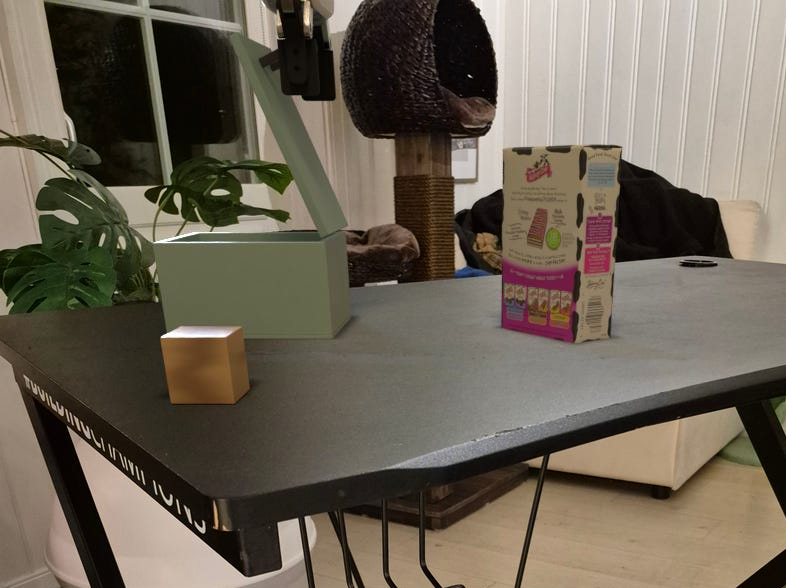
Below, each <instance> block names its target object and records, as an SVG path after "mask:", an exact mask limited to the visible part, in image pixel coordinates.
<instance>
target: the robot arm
mask: <svg viewBox="0 0 786 588" xmlns="http://www.w3.org/2000/svg"><path fill="white" fill-rule="evenodd" d="M261 3H262V4H263V6H264V7H265V8H266V9H267V10H269V11H270V12H272V13H273V14H274V15H276V18H275V19H276V21H275V22H276V23H275V24H276V25H275V26H276V35H277V38H276V46H277V49H278V58H279V69H280V80H281V90H282V93H283V94H284V95H288V96H292V97H293V96H298V97H299V96H300V97H301V99H302V100H303V101H304V102H334V101H335V100H336V99H337V89H336V75H335V59H334V50H333V44H332V43H333V42H332V37H331V30H330V22H329V19H330V18H331V17H332V16H333V15H334V13H335V0H261ZM307 38H311V39H307ZM317 46H318V53H317Z"/></svg>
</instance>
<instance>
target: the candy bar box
mask: <svg viewBox="0 0 786 588" xmlns="http://www.w3.org/2000/svg"><path fill="white" fill-rule="evenodd" d="M622 157H623V146H622V145H617V144H601V143H600V144H599V143H598V144H566V145H565V144H563V145H541V146H516V147H515V146H512V147H503V148H502V198H501V199H502V200H501V201H502V205H501V206H502V207H501V208H502V209H501V214H502V217H501V297H500V298H501V301H500V302H501V303H500V305H501V309H500V312H501V313H500V315H501V318H500V319H501V320H500V328H501V329H505V330H509V331H513V332H514V331H515V332H519V333H523V334H528V335H533V336H538V337H543V338H548V339H553V340H558V341H561V342H567V343H572V344H579V343H580V344H581V343H586V342H593V341H599V340H605V339H606V340H607V339H611V335H612V321H613V320H612V319H613V318H612V317H613V303H614V302H613V301H614V286H615V285H614V283H615V269H616V268H615V267H616V253H617V237H618V221H619V205H620V192H621V191H620V190H621V173H622V161H623V159H622Z"/></svg>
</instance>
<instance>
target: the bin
mask: <svg viewBox="0 0 786 588" xmlns="http://www.w3.org/2000/svg"><path fill="white" fill-rule="evenodd" d="M152 249H153V255H154V261H155V267H156V274H157V279H158V280H157V281H158V286H159V292H160V298H161V305H162V310H163V318H164V323H165V329H166V334H167V333H169V332H171V331H173V330H175V329H177V328H178V327H180V326H242V329H243V337H244V339H334V338H335V337H336V335H337V334H338V333H340V331H341V330H342V329H343V328H344V326H345V325H346V324H347V323H348V322H349V321H350V320H351V319H352V310H351V309H352V307H351V305H352V304H351V292H350V278H349V262H348V261H349V260H348V249H347V233H346V232H345V231H336V232H334V233H332V234H330V235H328V236H326V237H324V238H320V235H319V233H318V231H281V232H280V231H229V232H228V231H226V232H225V231H221V232H220V231H215V232H214V231H211V232H210V231H209V232H208V231H203V232H202V231H201V232H200V231H197V232H196V231H194V232H190V233H186V234H183V235H177V236H174V237H170V238H167V239H162V240H158V241H154V242H152Z"/></svg>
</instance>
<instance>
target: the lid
mask: <svg viewBox="0 0 786 588" xmlns="http://www.w3.org/2000/svg"><path fill="white" fill-rule="evenodd" d="M228 39H229V41H230V43H231V46H232V47H233V50H234V52H235V53H236V56H237V58H238V60H239V62H240V65H241V67H242V69H243V72H244V74H245V76H246V78H247V80H248V82H249V85H250V86H251V89H252V91H253V94H254V95H255V98H256V100H257V102H258V104H259V106H260V109H261V110H262V113H263V115H264V117H265V120H266V121H267V124H268V127H269V128H270V131H271V133H272V134H273V137H274V139H275V141H276V144H277V146H278V148H279V150H280V152H281V154H282V156H283V158H284V161H285V162H286V165H287V167H288V170H289V172H290V174H291V176H292V178H293V181H294V183H295V185H296V187H297V189H298V192H299V194H300V196H301V198H302V200H303V203H304V205H305V207H306V209H307V211H308V214H309V215H310V218H311V220H312V222H313V225H314V226H315V229H316V232H318V233H319V235H320V238H324V237H326V236H328V235H330V234H332V233H334V232H339V231H340V230H342V229H344V228H346V227H349V222H348V221H347V220H348V219H346V215H345V214H344V212H343V209H342V207H341V205H340V202H339V200H338V198H337V196H336V195H337V194H336V193H335V191H334V189H333V186H332V184H331V182H330V180H329V178H328V175H327V173H326V170H325V169H324V166H323V164H322V161H321V159H320V157H319V155H318V153H317V150H316V148H315V146H314V144H313V141H312V139H311V137H310V134H309V132H308V130H307V128H306V125H305V123H304V121H303V119H302V116H301V114H300V112H299V109H298V107H297V105H296V102H295V101H294V98H293V96H288V95H284V94H283V93H282V90H281V80H280V69H279V58H278V48H276V49H274V50H272V48H271V47H268V46H266V45H264V44H262V43H260V42H258V41H256V40H254V39H251V38H250V37H247V36H245V35H244V34H241V33H239V32H234V33H232V34H231V35H229V37H228ZM307 39H311V38H307ZM317 53H318V46H317Z"/></svg>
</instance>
